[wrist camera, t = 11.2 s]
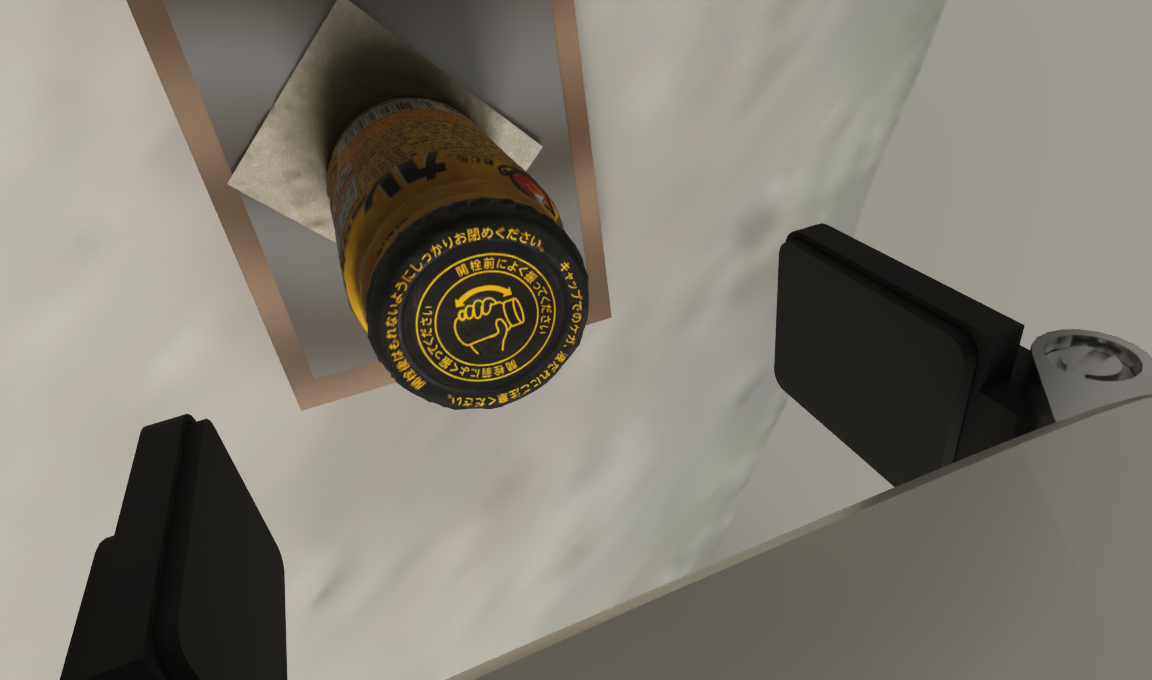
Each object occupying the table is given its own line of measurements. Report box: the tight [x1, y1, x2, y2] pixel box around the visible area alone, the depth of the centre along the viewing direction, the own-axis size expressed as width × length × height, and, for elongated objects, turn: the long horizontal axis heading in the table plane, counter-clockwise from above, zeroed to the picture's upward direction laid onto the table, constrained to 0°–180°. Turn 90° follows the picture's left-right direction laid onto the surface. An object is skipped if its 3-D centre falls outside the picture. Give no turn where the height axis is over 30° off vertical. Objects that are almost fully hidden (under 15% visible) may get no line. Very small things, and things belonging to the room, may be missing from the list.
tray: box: [126, 0, 611, 411], centre depth 27 cm, size 18×14×3 cm
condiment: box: [227, 0, 589, 410], centre depth 20 cm, size 7×8×12 cm
